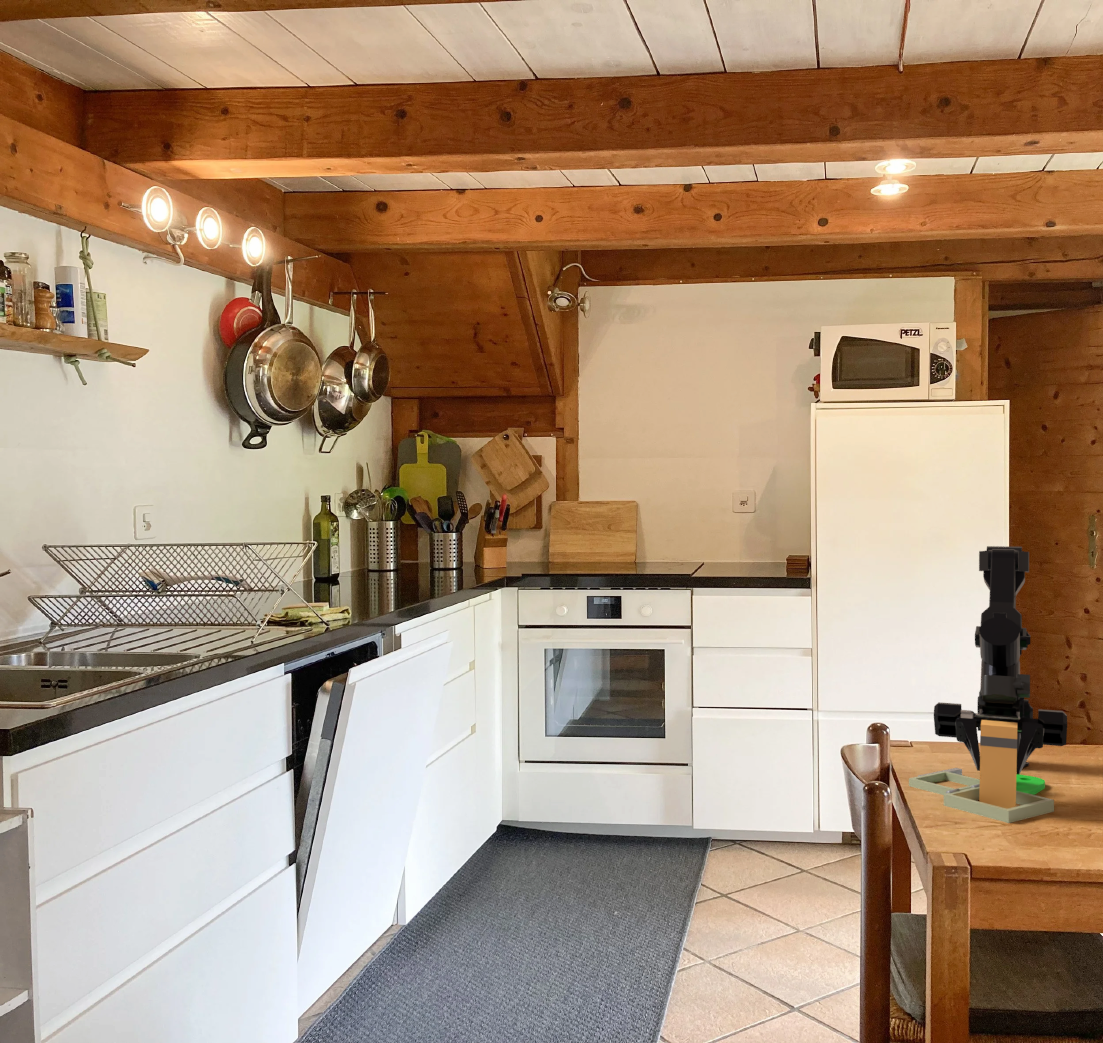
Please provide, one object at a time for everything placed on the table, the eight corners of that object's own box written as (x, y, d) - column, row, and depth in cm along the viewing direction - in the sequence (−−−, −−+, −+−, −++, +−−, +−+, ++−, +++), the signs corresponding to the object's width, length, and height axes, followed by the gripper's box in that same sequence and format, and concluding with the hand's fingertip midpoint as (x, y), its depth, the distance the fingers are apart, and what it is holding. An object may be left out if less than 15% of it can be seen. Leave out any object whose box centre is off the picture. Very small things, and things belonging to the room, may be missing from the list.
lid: (944, 783, 180) (944, 771, 180) (992, 795, 173) (992, 782, 172) (908, 790, 175) (908, 778, 175) (956, 803, 168) (956, 790, 168)
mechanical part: (1026, 806, 167) (1026, 754, 167) (986, 799, 171) (986, 749, 170) (1049, 791, 176) (1049, 742, 176) (1011, 785, 180) (1011, 737, 180)
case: (985, 799, 170) (985, 781, 170) (1053, 816, 160) (1053, 798, 160) (940, 809, 164) (940, 791, 164) (1008, 828, 154) (1008, 809, 154)
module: (979, 804, 164) (981, 719, 164) (1015, 808, 162) (1017, 722, 162) (978, 811, 161) (980, 724, 160) (1015, 816, 159) (1017, 727, 158)
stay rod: (956, 774, 186) (956, 767, 186) (962, 776, 185) (962, 769, 185) (917, 782, 180) (917, 775, 180) (923, 784, 179) (923, 777, 179)
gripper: (934, 650, 168) (928, 734, 158) (1067, 657, 161) (1069, 746, 151) (938, 693, 176) (932, 776, 166) (1064, 701, 168) (1067, 789, 158)
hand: (998, 771), depth 160 cm, fingers closed on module, 5 cm apart
